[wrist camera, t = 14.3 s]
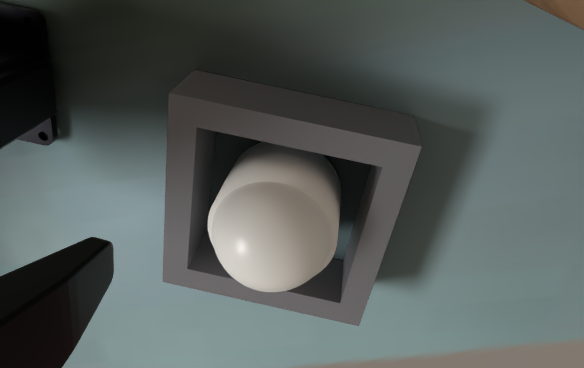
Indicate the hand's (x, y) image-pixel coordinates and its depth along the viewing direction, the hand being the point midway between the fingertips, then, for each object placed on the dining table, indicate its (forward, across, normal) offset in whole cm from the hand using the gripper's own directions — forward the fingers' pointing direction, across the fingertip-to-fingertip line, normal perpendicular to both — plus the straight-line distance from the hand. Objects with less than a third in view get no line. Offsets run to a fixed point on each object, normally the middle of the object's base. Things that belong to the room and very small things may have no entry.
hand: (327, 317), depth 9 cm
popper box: (+13, +2, +5) cm, 14 cm away
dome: (+13, +2, +5) cm, 14 cm away
